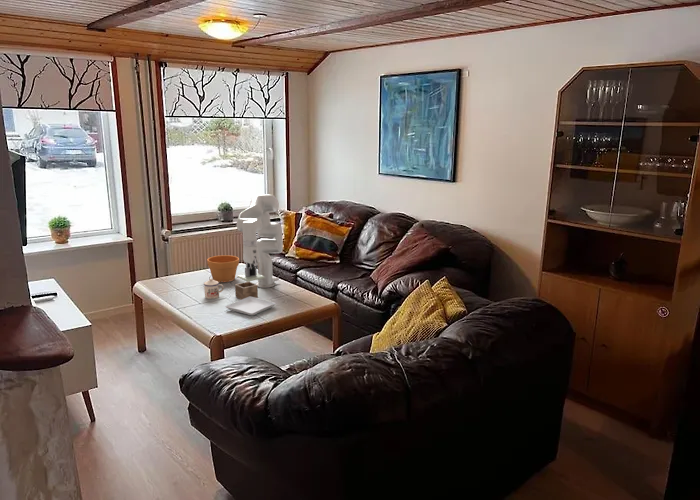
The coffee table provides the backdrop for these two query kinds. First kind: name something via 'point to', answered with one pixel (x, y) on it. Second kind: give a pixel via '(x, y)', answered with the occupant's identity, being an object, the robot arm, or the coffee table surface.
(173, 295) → the coffee table surface
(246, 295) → the crate
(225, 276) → the flower pot
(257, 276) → the lid
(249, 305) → the salad plate
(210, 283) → the teacup with lid
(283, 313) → the coffee table surface
